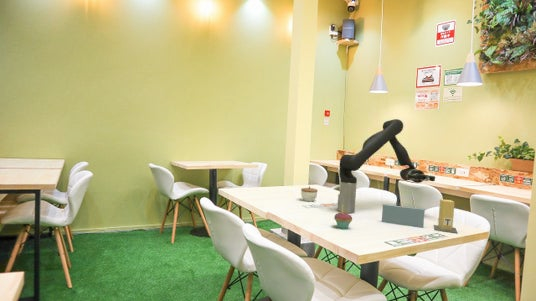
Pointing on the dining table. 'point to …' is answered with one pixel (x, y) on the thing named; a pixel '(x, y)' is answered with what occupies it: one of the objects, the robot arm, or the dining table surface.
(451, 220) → the letter block
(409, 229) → the dining table surface
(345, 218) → the cupcake
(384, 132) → the robot arm
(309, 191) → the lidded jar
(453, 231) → the mat
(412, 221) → the screen
